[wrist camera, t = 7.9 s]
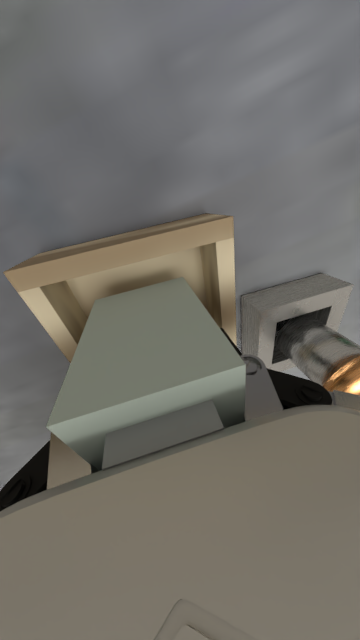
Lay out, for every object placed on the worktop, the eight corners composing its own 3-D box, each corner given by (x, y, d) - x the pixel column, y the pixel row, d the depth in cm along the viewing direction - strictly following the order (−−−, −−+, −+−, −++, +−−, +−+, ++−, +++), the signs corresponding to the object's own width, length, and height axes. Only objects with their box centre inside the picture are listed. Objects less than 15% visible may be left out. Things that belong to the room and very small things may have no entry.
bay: (218, 345, 19) (237, 374, 16) (113, 377, 18) (109, 415, 15) (206, 213, 13) (233, 216, 9) (39, 253, 12) (3, 272, 8)
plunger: (316, 347, 19) (390, 404, 13) (265, 363, 18) (321, 430, 13) (330, 299, 16) (435, 348, 10) (269, 317, 15) (345, 378, 10)
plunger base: (305, 338, 22) (328, 356, 19) (241, 358, 21) (256, 379, 18) (321, 273, 17) (353, 284, 15) (241, 295, 17) (260, 311, 14)
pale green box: (182, 276, 11) (264, 390, 4) (198, 361, 14) (253, 489, 8) (95, 300, 10) (30, 467, 4) (135, 381, 14) (139, 532, 8)
